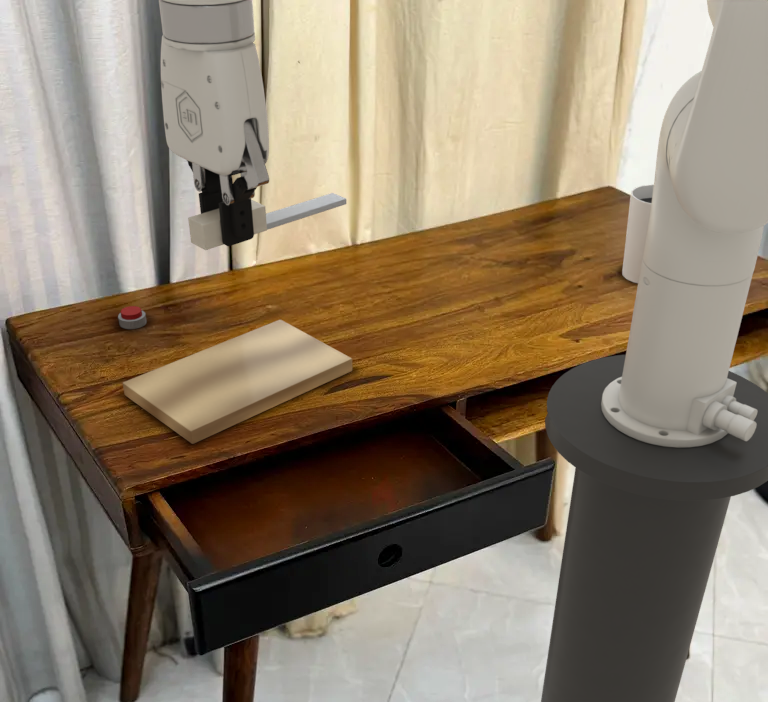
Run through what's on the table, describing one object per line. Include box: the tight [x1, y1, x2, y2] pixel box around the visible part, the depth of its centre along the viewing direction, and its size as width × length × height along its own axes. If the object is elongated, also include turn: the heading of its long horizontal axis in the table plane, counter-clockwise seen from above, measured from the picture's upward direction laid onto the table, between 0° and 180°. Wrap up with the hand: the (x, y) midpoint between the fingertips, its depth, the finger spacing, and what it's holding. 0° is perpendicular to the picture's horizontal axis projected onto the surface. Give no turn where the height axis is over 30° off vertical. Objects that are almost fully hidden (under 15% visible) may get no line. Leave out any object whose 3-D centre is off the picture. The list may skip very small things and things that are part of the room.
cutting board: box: [122, 319, 353, 445], centre depth 100 cm, size 12×20×2 cm, turn 133°
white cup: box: [621, 184, 654, 284], centre depth 118 cm, size 7×7×10 cm
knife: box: [187, 192, 347, 251], centre depth 94 cm, size 17×2×2 cm, turn 132°
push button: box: [117, 305, 148, 330], centre depth 111 cm, size 3×3×2 cm
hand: (228, 235), depth 92 cm, fingers closed on knife, 2 cm apart
